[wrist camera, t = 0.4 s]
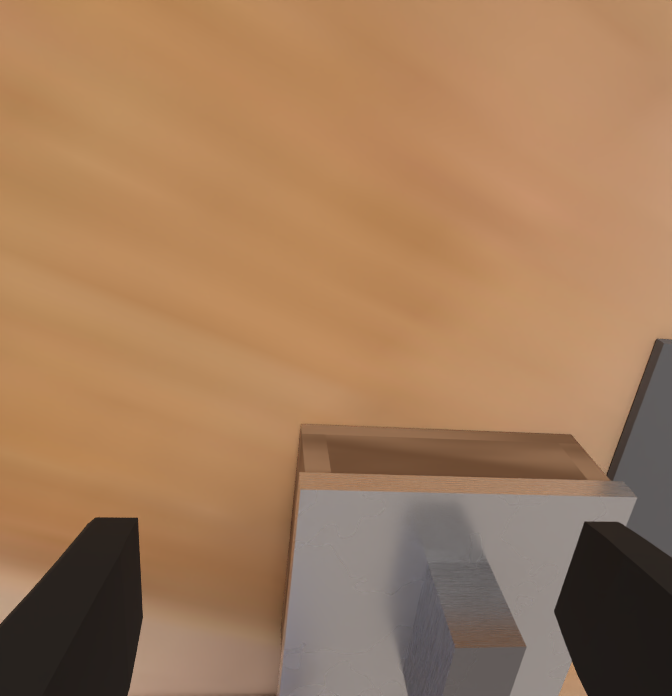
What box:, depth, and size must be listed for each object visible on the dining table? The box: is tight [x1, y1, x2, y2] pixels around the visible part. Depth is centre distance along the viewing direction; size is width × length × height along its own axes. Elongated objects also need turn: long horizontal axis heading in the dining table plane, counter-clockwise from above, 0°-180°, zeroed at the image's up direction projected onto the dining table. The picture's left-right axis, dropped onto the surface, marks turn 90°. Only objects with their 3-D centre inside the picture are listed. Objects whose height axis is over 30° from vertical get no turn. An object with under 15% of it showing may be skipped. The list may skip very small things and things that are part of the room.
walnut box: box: [281, 424, 611, 650], centre depth 21 cm, size 10×10×3 cm
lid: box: [277, 472, 637, 696], centre depth 18 cm, size 10×10×5 cm
